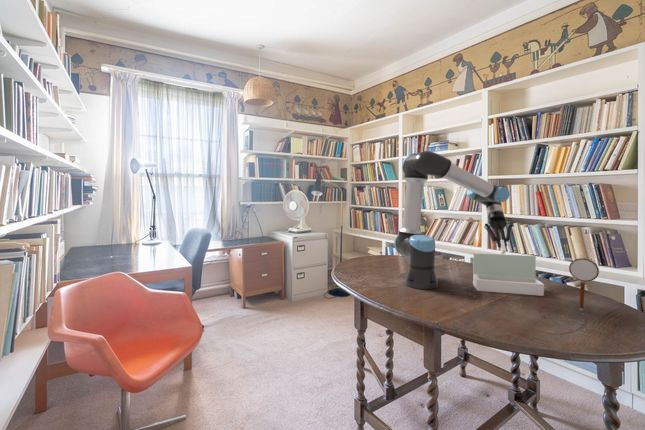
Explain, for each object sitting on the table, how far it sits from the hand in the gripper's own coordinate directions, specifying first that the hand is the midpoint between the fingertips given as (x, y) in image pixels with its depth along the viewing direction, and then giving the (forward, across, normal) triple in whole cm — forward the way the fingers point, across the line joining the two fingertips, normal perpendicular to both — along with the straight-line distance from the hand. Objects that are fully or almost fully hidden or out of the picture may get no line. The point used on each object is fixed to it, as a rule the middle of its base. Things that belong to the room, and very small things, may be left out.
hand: (503, 252), depth 149 cm
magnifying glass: (+32, -19, +10) cm, 38 cm away
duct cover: (+6, +1, -1) cm, 7 cm away
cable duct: (+17, +1, -4) cm, 18 cm away
